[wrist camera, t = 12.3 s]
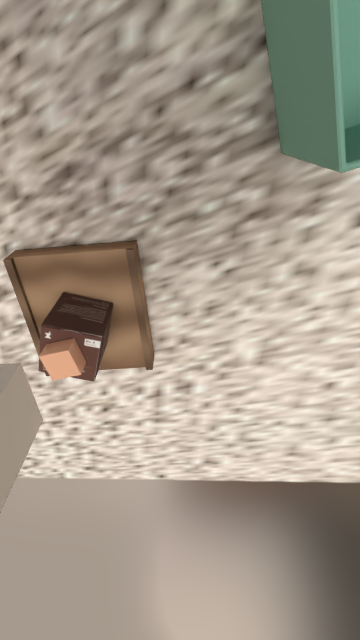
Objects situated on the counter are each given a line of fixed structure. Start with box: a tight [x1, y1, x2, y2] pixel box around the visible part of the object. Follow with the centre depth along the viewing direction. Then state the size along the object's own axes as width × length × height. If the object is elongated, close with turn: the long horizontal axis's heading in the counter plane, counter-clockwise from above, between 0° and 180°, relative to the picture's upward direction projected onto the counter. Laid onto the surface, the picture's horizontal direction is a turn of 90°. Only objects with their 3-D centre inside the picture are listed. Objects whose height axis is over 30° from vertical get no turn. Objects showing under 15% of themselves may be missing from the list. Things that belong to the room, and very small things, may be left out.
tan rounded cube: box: [39, 338, 86, 380], centre depth 33 cm, size 3×3×2 cm
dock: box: [3, 241, 154, 376], centre depth 41 cm, size 16×14×3 cm
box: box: [39, 293, 113, 381], centre depth 37 cm, size 6×6×7 cm
